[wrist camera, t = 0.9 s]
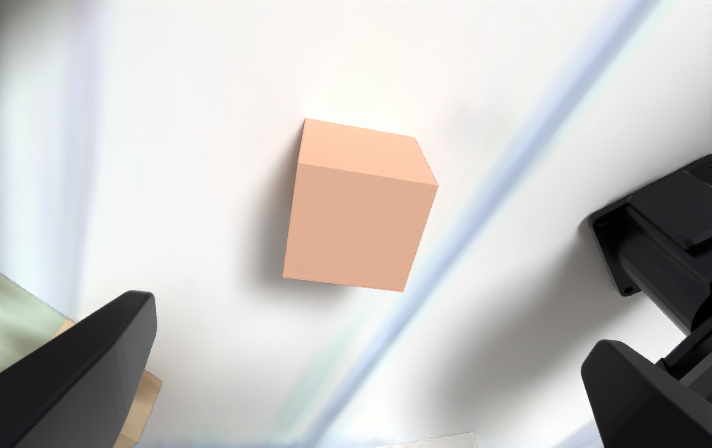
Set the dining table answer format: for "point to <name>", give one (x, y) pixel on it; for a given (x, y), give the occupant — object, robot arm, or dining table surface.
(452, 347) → the dining table surface
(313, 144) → the cube
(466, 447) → the milk
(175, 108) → the dining table surface
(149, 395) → the arena
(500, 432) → the dining table surface
